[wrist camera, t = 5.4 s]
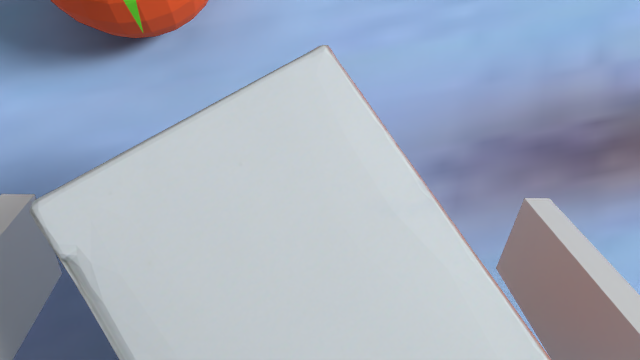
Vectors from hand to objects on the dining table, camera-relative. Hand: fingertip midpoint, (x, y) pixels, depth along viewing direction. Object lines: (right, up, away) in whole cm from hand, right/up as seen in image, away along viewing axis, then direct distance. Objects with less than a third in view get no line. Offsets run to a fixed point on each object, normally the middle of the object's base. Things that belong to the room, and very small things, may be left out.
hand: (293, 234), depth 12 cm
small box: (0, -3, +5) cm, 6 cm away
